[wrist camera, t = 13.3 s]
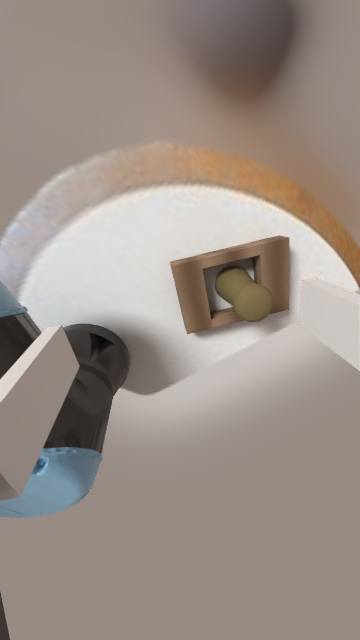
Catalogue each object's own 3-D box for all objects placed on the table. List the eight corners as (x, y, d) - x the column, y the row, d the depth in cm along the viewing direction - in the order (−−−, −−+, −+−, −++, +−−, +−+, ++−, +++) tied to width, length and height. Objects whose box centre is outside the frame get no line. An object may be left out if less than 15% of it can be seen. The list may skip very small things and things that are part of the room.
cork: (250, 294, 40) (282, 321, 30) (217, 303, 40) (239, 333, 30) (246, 260, 37) (280, 279, 27) (211, 271, 37) (232, 293, 28)
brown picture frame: (184, 326, 41) (187, 334, 39) (170, 261, 36) (171, 266, 33) (279, 303, 41) (288, 309, 39) (279, 235, 36) (289, 237, 33)
